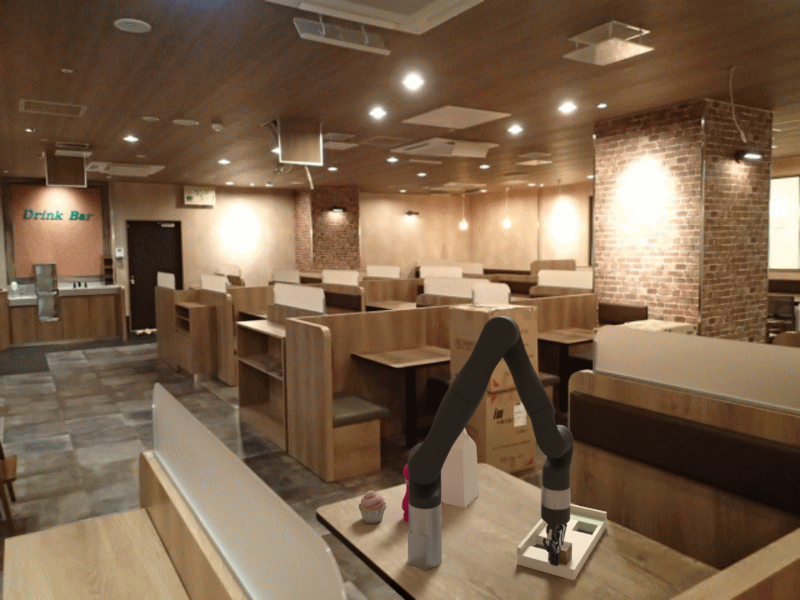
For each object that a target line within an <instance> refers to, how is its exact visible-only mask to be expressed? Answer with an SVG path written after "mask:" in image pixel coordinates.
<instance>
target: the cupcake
mask: <svg viewBox="0 0 800 600" xmlns="http://www.w3.org/2000/svg"><path fill="white" fill-rule="evenodd" d="M387 507H388V506H387V502H385V499H384V498H383V497H382V495H381V494H380V493H378V492H375V490H374V489H370V490H368V491H367V492H366V493H365V494H364V495H363V497H362V498H361V500H360V503H358V509H359V512H360V515H361V518H362V520H363V522H364V523H366V524H370V525H374V524H379V523H380V522H381V521H382V520H383V518H384V512H385V510H386V508H387Z"/></svg>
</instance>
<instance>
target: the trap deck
mask: <svg viewBox="0 0 800 600" xmlns="http://www.w3.org/2000/svg"><path fill="white" fill-rule="evenodd" d="M607 515H608V513H607V511H603V510H599V509H595V508H590V507H586V506H580V505H577V504H573V503H570V521H569V522H568V523H567V528H566V533H565V538H564V541H565V542H569V543H572V558H571V559H570V561H569V562H568V564H567V565H563V564H559V565H558V566H554V565H551V564H550V561H548V552H547V551H546V549H545V546H544V544H543V539H544V538H545V539H547V533H546V526H547V523H546V522H545V521H544V520H543V519H542V518H540V519H539V520H538V522H537V523H536V524H535V525H534V527H532V529H531V530H530V531H529V532H528V534H527V535H526V536H525V537H524V538H523V540H521V542H520V543H519V544H518V545H517V547H516V565H518V566H523V567H526V568H529V569H532V570H537V571H540V572H543V573H547V574H551V575H554V576H557V577H559V578H560V577H561V578H564V579H567V580H571V581H576V578H577V576H578V575H579V573H580V572H581V570H582V568H583V567H584V565H585V564H586V562H587V560H588V558H589V557H590V555H591V553H593V550H594V548H595V547H596V545H597V544H598V542H599V540H600V539H601V537H602V535H603V534H604V532H605V530H606V529H607V522H608V521H607V520H608V519H607Z"/></svg>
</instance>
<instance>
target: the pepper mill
mask: <svg viewBox="0 0 800 600" xmlns="http://www.w3.org/2000/svg"><path fill="white" fill-rule="evenodd" d="M402 474H403V476H404V477H405V478H404V483H405V486H406V489H405V494H404V497H403V498H402V502H401V508H402V510H403V514H402V515H403V521H405V522H407V523H409V502H408V488H409V473H408V468H407V464H405V466H404V467H403V469H402Z"/></svg>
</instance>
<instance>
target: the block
mask: <svg viewBox="0 0 800 600" xmlns="http://www.w3.org/2000/svg"><path fill="white" fill-rule="evenodd" d="M559 551H560V563H559V564H563V565H567V564H568V562H569V561H570V559H571V558H572V543H569V542H565V541H564V542H563V545H561V550H559ZM548 561H550V552H548Z"/></svg>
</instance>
